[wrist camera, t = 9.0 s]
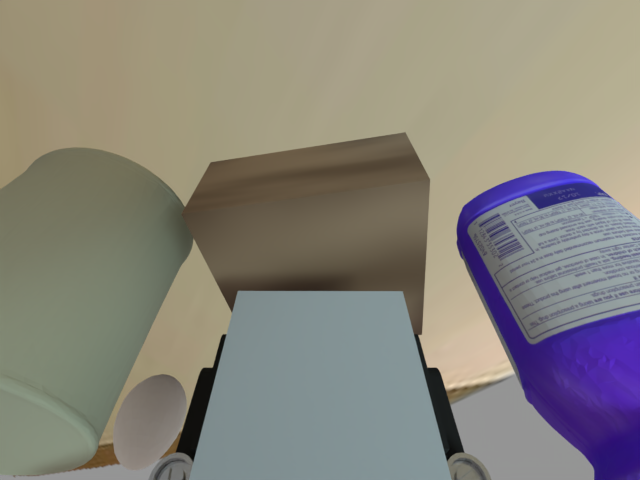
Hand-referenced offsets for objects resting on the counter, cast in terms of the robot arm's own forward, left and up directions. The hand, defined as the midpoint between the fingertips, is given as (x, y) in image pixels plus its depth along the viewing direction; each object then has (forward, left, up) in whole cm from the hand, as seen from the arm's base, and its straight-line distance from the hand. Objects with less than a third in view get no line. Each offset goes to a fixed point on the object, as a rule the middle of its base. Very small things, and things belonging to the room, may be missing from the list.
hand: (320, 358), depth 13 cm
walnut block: (0, 0, -9) cm, 9 cm away
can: (-1, -12, -9) cm, 15 cm away
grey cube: (0, 0, -1) cm, 1 cm away
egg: (+17, -14, -9) cm, 24 cm away
